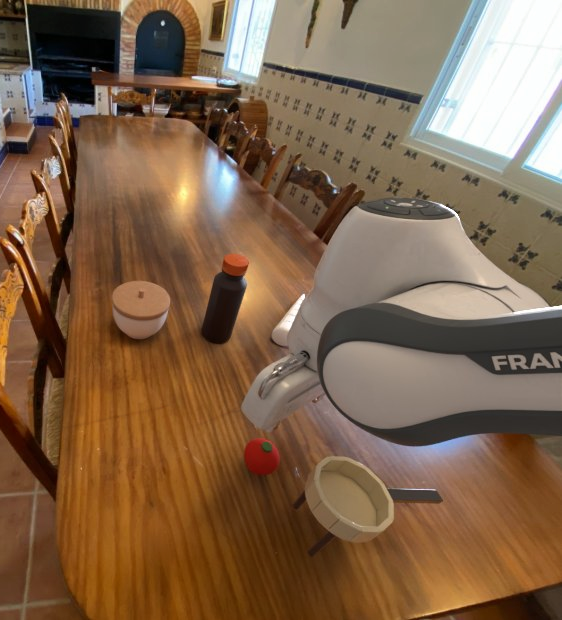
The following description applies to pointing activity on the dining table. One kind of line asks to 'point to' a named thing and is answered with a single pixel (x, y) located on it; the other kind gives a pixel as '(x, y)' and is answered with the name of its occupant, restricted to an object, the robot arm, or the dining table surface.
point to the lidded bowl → (140, 308)
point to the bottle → (225, 299)
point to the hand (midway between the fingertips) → (291, 411)
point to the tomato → (261, 456)
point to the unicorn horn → (286, 324)
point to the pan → (353, 501)
